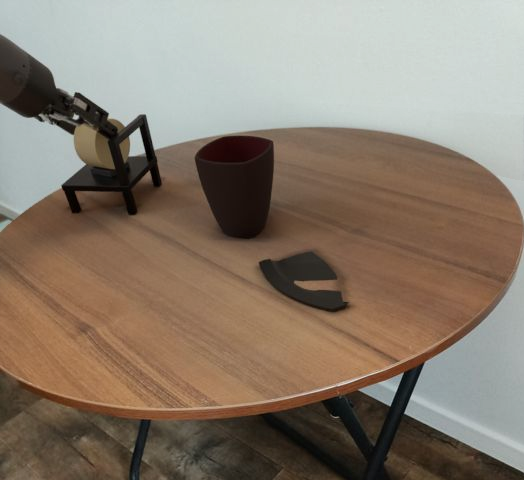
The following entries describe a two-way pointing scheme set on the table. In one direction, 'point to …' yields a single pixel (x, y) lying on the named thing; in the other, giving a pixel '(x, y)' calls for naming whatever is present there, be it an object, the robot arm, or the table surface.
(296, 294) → the fan shaped piece
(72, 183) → the chair
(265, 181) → the cup
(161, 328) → the table surface
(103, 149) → the short beige cylinder
